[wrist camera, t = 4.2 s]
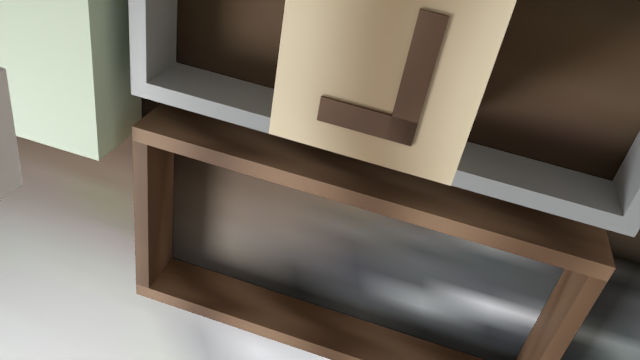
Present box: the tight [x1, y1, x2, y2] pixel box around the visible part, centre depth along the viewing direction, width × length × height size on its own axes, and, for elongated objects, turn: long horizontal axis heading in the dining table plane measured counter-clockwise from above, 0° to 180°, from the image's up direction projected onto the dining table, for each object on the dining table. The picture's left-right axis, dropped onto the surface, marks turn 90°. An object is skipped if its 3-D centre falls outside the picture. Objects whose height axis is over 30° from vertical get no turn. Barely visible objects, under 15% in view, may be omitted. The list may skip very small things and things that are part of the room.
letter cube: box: [269, 0, 517, 186], centre depth 19 cm, size 6×6×6 cm
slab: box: [0, 0, 142, 161], centre depth 24 cm, size 10×10×4 cm
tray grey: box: [128, 0, 640, 237], centre depth 20 cm, size 20×10×2 cm, turn 81°
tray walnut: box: [132, 103, 616, 360], centre depth 26 cm, size 20×10×2 cm, turn 81°
